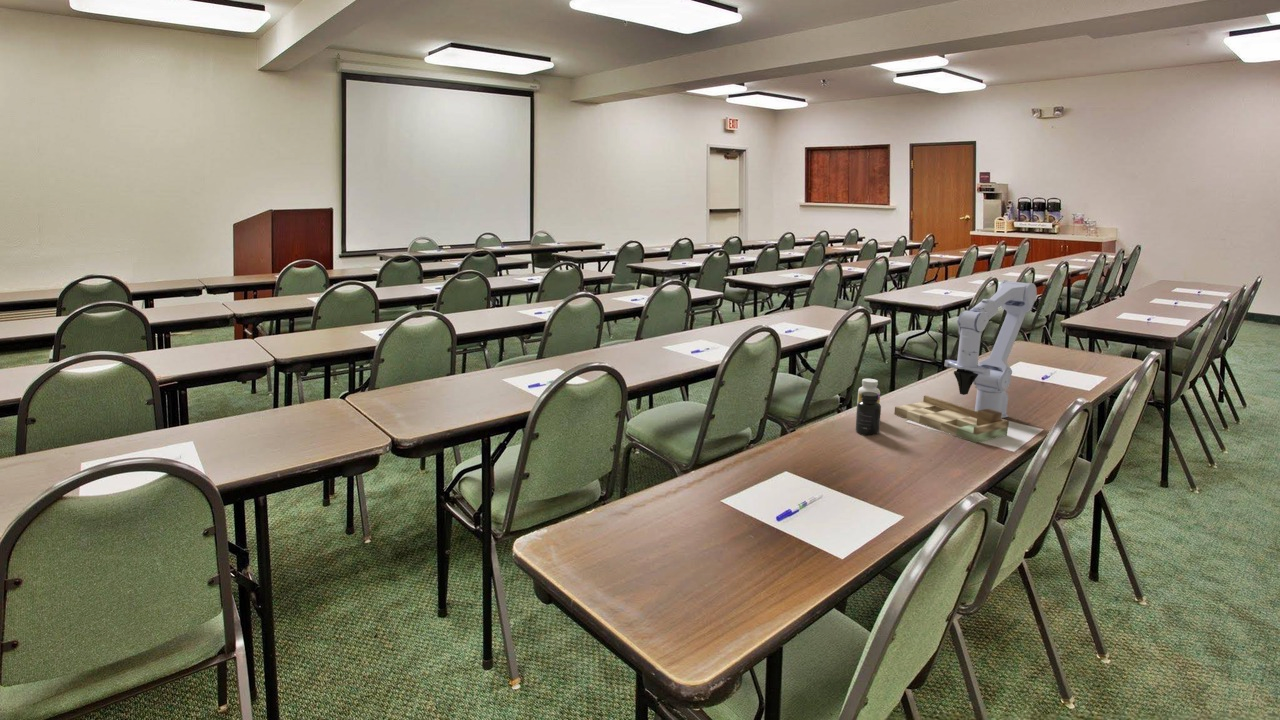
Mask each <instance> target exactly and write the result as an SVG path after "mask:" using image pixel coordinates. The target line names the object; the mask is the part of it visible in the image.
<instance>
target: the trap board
mask: <svg viewBox="0 0 1280 720" xmlns="http://www.w3.org/2000/svg"><path fill="white" fill-rule="evenodd" d="M893 414H894V415H896V416H898V417H902V418H904V419H906V418H907V420H909V419H910V421H912V420H913V421H912V422H915V421H916V422H915V423H918V424H922V425H923V424H924V426H926V425H927V426H926V427H929V428H931V429H932V428H933V429H935V430H938V431H940V430H941V432H943V431H944V433H946V434H949V433H950V435H952V436H955V437H958V438H960V437H961V438H960V439H964V440H967V441H969V440H970V442H973V443H975V444H977V443H979V442H980V441H981V442H984V440H985V441H988V440H993V439H997V438H996V437H998V438H1001V437H1000V436H1002V437H1005V436H1004V435H1006V436H1007V435H1008V429H1009V422H1010V421H1009V420H1007V419H1004V418H1001V421H998V422H994V423H989V424H985V425H980V426H978V425H976V424H977V415H978V411H975V409H971V408H968V407H966V406H962V405H958V404H955V403H952V402H950V401H949V402H948V401H945V400H942V399H939V398H936V397H934V396H929V395H923V401H919V402H915V403H914V402H913V403H909V404H903V405H898V406H894V413H893ZM992 438H993V439H992ZM981 442H980V443H981Z"/></svg>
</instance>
